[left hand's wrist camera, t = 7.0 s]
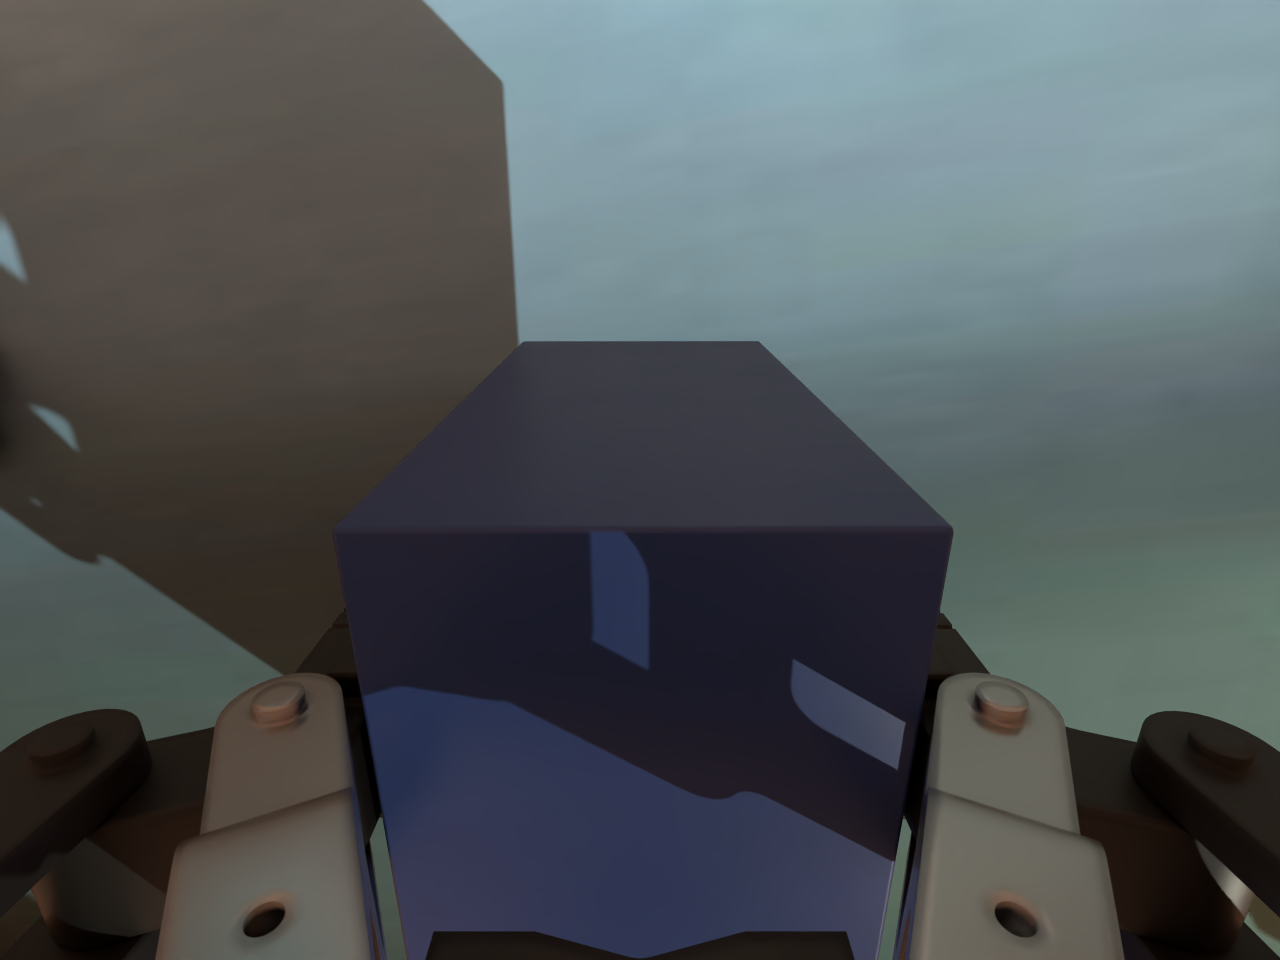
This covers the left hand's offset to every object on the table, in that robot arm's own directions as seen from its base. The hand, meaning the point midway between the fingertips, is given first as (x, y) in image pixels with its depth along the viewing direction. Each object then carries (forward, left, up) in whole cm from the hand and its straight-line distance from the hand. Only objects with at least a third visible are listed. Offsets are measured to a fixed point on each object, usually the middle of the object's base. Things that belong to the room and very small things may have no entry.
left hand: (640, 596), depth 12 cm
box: (+11, 0, -7) cm, 13 cm away
